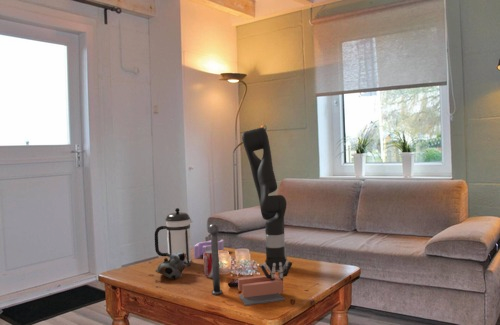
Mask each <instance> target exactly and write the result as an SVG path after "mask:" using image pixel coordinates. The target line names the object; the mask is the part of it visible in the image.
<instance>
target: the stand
mask: <svg viewBox="0 0 500 325" xmlns="http://www.w3.org/2000/svg"><path fill="white" fill-rule="evenodd" d="M219 231H220V227H219V226H218V225H217V223H216V224H215V223H212V224H210V225H209V226H208V232H209V234H210V240H211V251H212V271H213V278H212V284H213V285H212V287H213V290H211V296H220V295H222V294H223V290H222V289H221V281H220V280H221V278H220V257H219V254H218V241H219V238H218V233H219Z"/></svg>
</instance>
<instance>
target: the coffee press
mask: <svg viewBox="0 0 500 325" xmlns="http://www.w3.org/2000/svg"><path fill="white" fill-rule="evenodd" d="M174 210H175V212H171V213H169V214H168V215H166V217H165V221H166V225H161V226H158V227H157V228H155V231H154V248H155V249H154V250H155V252H156V253H155V254H157V256H160V257H167V259H168V260H169V259H170V257H171V255H172V254H175V253H184V254H186V257H187V263H186V264H187V266H186V267H190V266H191V262H192V247H191V223H193V222H194V221H193V220H192V218H191V217H190V215H189V214H188V213H187V212H181V211H180V208H178V207H177V208H175V209H174ZM161 230H166V239H167V252H161V251H160V249H159V248H160V247H159V246H160V245H159V232H160V231H161Z"/></svg>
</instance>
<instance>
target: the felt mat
mask: <svg viewBox="0 0 500 325" xmlns="http://www.w3.org/2000/svg"><path fill="white" fill-rule="evenodd" d="M238 297H239V299H240V300H241V301H242V303H243V304H244V306H246V307H247V306H253V305H260V304H268V303H274V302H275V303H276V302H283V301H285V300H286V299H285V298H284V296H282V295H281V293H276V294H268V295H260V296H252V297H245V298H244V297H243V294H242V293H241V294H238Z"/></svg>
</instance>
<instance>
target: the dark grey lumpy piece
mask: <svg viewBox="0 0 500 325" xmlns="http://www.w3.org/2000/svg"><path fill="white" fill-rule="evenodd" d="M186 263H188V262H187V257H186V254H184V253H175V254H172V255H171V257H170V259H168V257H164V259H163V262H161V263H160V264H158V267H157V269H156V270H155V272H156V273H157V274H161V275H162V276H165V277H167V278H169V279H173V280H178V279H180V278H182V277H183V271H184V270H185V268H186V267H188V266H187V264H186Z"/></svg>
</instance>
